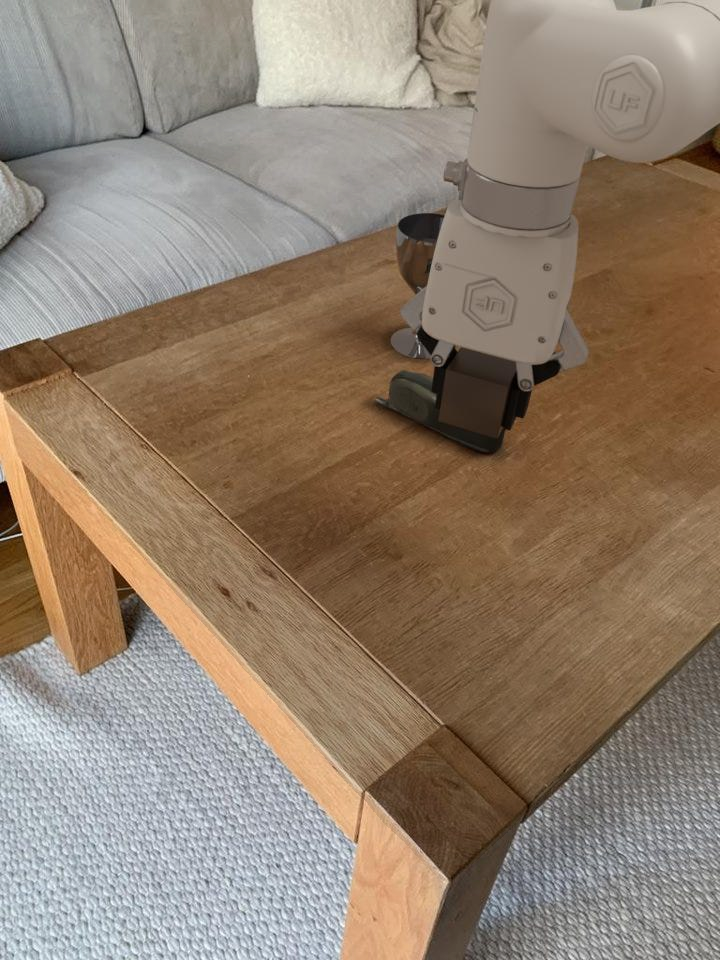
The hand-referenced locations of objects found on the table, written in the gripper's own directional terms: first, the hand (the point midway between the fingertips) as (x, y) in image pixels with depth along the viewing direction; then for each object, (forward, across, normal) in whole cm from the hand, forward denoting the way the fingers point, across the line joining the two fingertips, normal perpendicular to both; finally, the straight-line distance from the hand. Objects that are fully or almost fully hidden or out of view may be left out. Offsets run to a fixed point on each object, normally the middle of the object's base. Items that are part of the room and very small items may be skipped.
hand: (477, 408), depth 67 cm
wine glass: (+15, -14, +30) cm, 37 cm away
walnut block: (0, 0, 0) cm, 0 cm away
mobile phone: (+15, -7, +15) cm, 22 cm away
